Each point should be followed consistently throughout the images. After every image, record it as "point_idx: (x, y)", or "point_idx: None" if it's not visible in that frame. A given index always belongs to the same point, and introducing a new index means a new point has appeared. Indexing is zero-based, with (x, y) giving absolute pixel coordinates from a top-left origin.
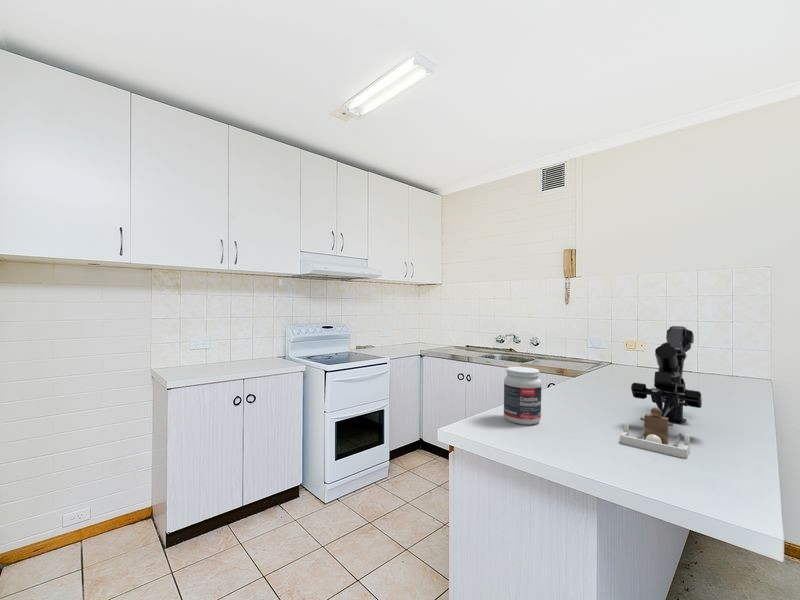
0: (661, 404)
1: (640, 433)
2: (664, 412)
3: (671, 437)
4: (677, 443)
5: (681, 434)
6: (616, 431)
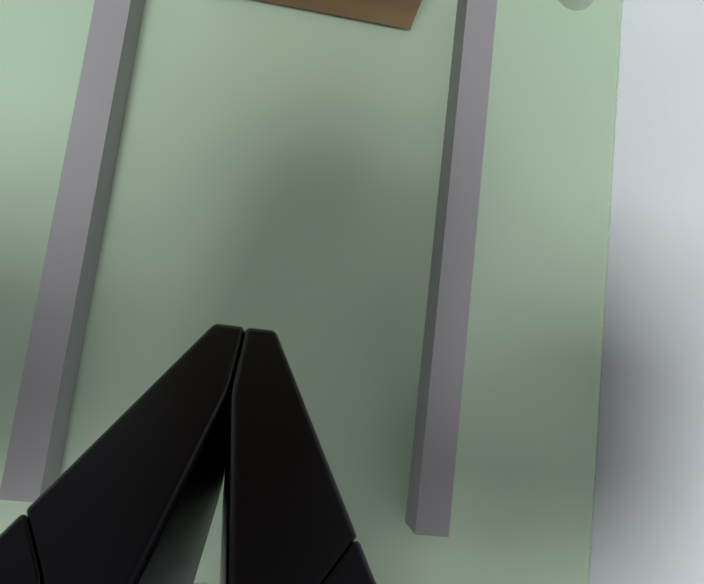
0: (239, 578)
1: (479, 149)
2: (178, 370)
3: None
4: (94, 12)
5: (12, 447)
6: (689, 277)
